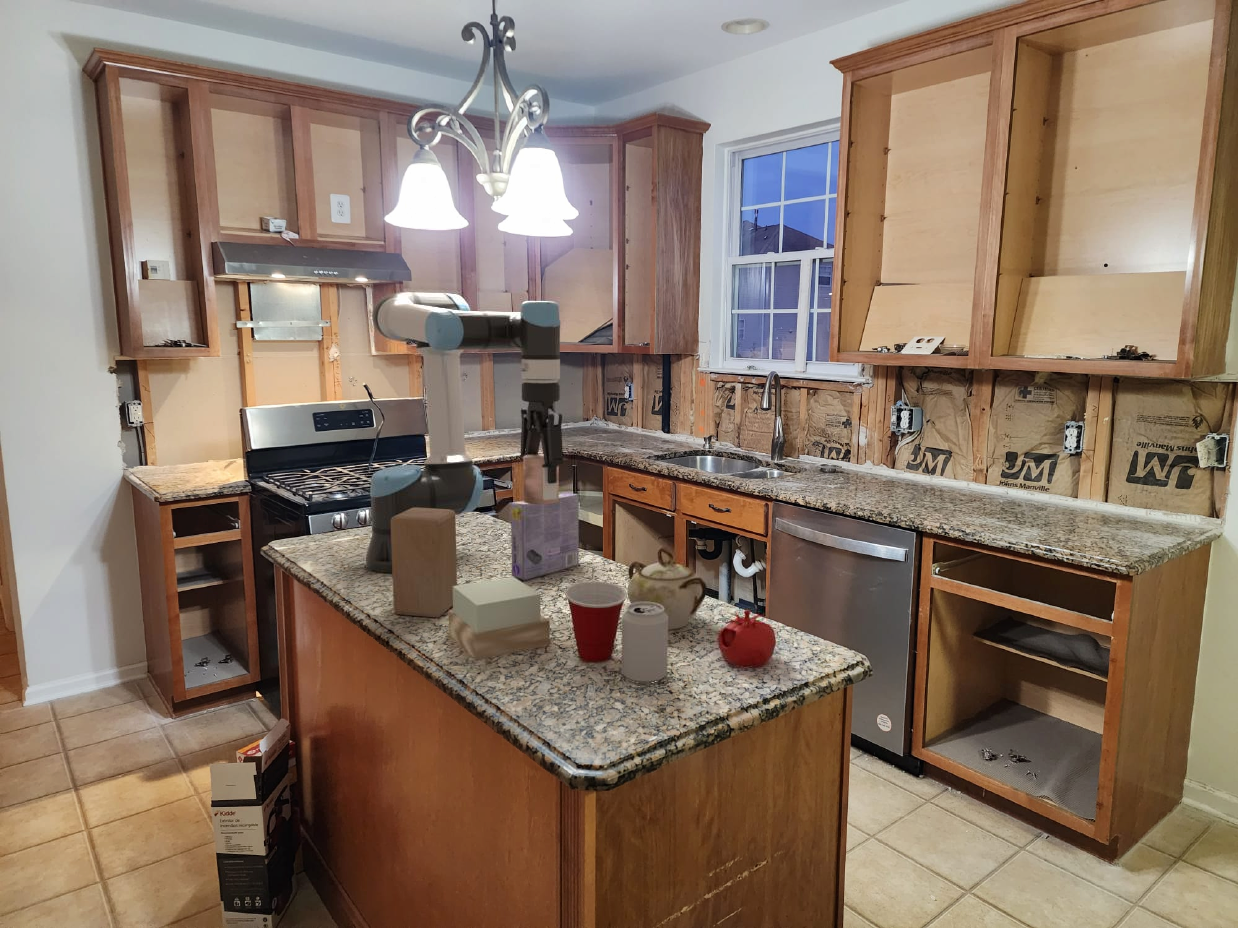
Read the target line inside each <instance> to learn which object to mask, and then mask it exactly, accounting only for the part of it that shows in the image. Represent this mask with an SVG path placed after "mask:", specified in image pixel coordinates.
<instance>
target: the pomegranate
mask: <svg viewBox="0 0 1238 928" xmlns="http://www.w3.org/2000/svg"><path fill="white" fill-rule="evenodd" d="M743 613H744V616H740V615H739V614H737V613H730V615H731V616H735V617H736V618H735V619H730V620H728V621H727V622H725V624H727V625H726V626H725V627H723V628H721V630H720V631H719V633H718V636H717V644H718V649H719V650H720V653H721V656H722V657H723V659H724V660H726V662H727V663H729V664H732V665H734V666H736V667H739V668H743V667H749V668H759V667H763V666H765V665H766V664H767V663H768V662H769V661H770V660H771V658H772V657H773V654H774V650H775V649H776V646H777V645H776V644H777V640H776V634H775V630H774V628H773V627H772V626H771V625H770V624H769V623H767V622H766V623H765V622H764V621H760V620H758V618H759V617H761V618H764V616H763V615H761V614H756V615H755V616H753V617H750V614H751V610H750V609H746V610H745V609H744V612H743Z"/></svg>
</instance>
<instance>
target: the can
mask: <svg viewBox="0 0 1238 928" xmlns="http://www.w3.org/2000/svg"><path fill="white" fill-rule="evenodd" d="M625 609H626V611H625V612H624V613H623V614H622V620H621V621H622V622H621V628H622V629H621V674H622V675H623V676H624V677H625V678H626V679H627V678H628V679H629V680H628V679H627V680H628V681H630V680H631V681H634V682H638V683H652V682H655V681H658V682H660V681H661V680H662V679H664V678H665V677H666V675H667V674H668V648H669V647H668V643H669V640H668V638H669V637H668V636H669V630H668V616H667V614H666V613H665V612H664V610H665V608H664V607H663V606H662V605H660V604H658V603H654V602H635V603H632V604H631V603H630V604H627V606H626V608H625ZM659 680H660V681H659ZM631 681H630V682H631ZM634 682H633V683H634ZM638 683H637V684H638Z"/></svg>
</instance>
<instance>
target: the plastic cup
mask: <svg viewBox="0 0 1238 928" xmlns="http://www.w3.org/2000/svg"><path fill="white" fill-rule="evenodd" d="M564 595H565V598H566V600H567V603H568V606H569V611H570V615H571V623H572V628H573V635H574V639H575V643H576V651H577V654H578V657H579V659H580V660H582V661H583V662H585V663H586V662H587V663H594V664H595V663H604V662H607V661H608V660H610V659H611V658H612V655H613V652H614V647H615V646H614V645H615V641H616V638H617V633H618V627H619V621H620V617H621V611H622V608H623V605H624V602H625V601H626V599H627V598H628V593H627V590H626V589H625V588H623V587H622V586H620V585H618V584H615V583H613V582H608V581H597V580H594V581H590V580H589V581H582V582H577V583H573V584H572V585H570V586H568V587H566V589H565V590H564Z"/></svg>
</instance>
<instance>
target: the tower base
mask: <svg viewBox="0 0 1238 928" xmlns="http://www.w3.org/2000/svg"><path fill="white" fill-rule="evenodd" d="M447 611H448V617H447V618H448V634H449V636H451V637H452V638H453V639H454V640H455V641H456V642H457V643H458V644H459V645H460V646H461V647H462V648H463V649H464V650H465V651H466V652H467V653H468V654H469V655H470V656H471V655H472V656H471V657H472V658H473V657H474V658H475V659H476V661H477V660H482V659H483V658H484V659H489V658H492V657H498V656H503V655H508V654H511V653H512V654H513V653H516V652H521V651H525V650H526V651H527V650H532V649H536V648H541V647H545V646H550V645H551V644H550V642H551V641H550V638H551V636H550V634H551V632H550V630H551V629H550V628H551V627H550V620H549V619H548V618H546V617H545V616H544V615H542V614H541V621H538V622H533V623H528V624H522V625H517V626H512V627H507V628H502V629H496V630H491V631H486V632H481V633H477V632H475V631H474V630H473V629H472V628H471V627H470V626H468V625H467V624H466V623H465V622H464V621H463V620H462V619H460V618H459V617H458V616H457V615H456V614H455V613H453V609H448V610H447ZM474 658H473V659H474ZM475 659H474V660H475ZM484 659H483V660H484Z"/></svg>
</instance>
